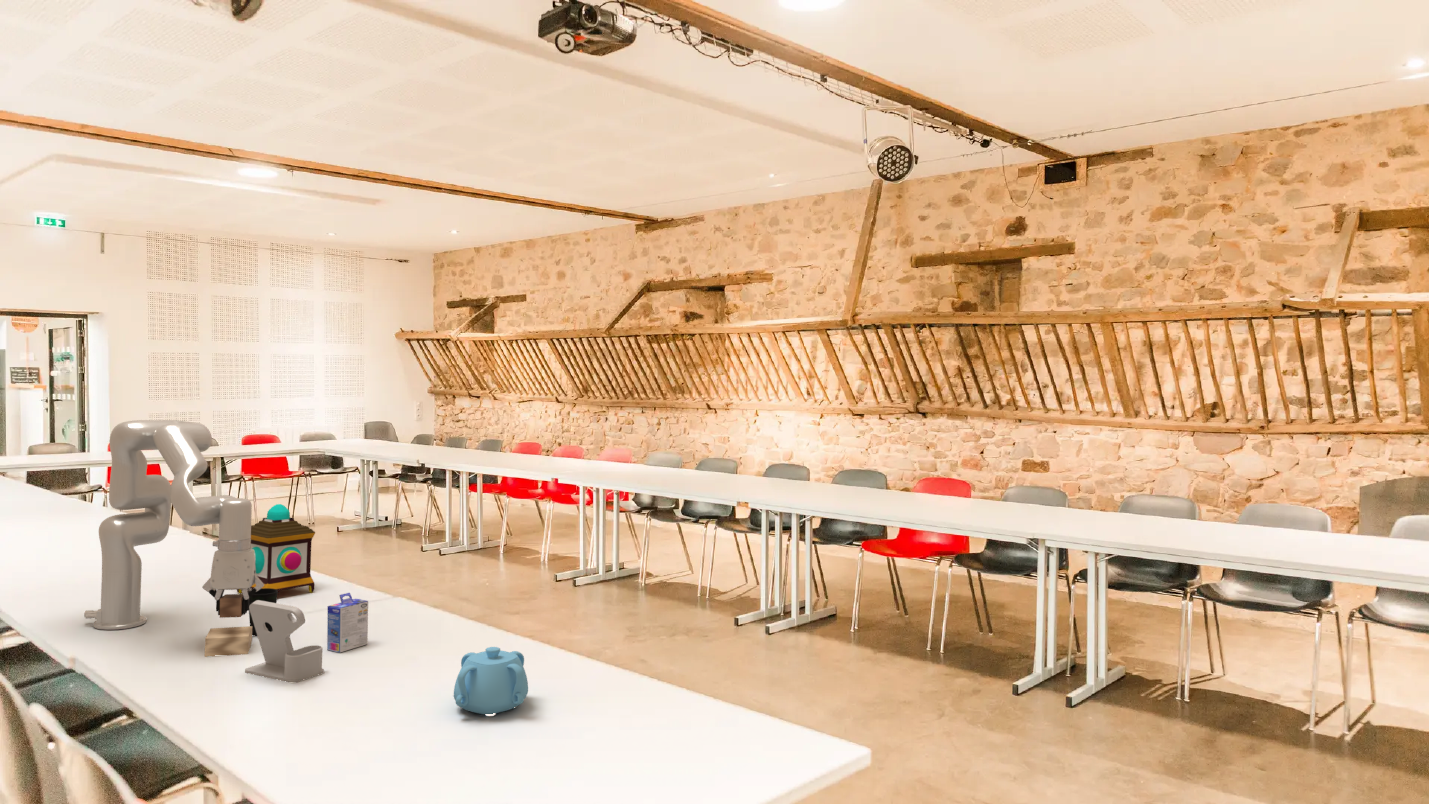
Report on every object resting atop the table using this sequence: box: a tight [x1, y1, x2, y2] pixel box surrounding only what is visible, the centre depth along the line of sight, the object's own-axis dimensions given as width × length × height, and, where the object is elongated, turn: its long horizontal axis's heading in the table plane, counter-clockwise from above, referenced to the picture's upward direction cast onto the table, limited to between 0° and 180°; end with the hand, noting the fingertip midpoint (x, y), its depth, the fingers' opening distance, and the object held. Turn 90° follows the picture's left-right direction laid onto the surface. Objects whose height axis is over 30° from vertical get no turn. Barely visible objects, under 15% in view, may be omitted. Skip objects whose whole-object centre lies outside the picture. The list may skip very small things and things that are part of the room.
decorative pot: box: [453, 646, 529, 715], centre depth 203 cm, size 16×16×14 cm
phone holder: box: [244, 600, 325, 683], centre depth 221 cm, size 17×10×18 cm, turn 68°
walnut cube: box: [218, 593, 244, 619], centre depth 237 cm, size 5×5×5 cm
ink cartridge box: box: [326, 592, 369, 653], centre depth 243 cm, size 10×6×14 cm, turn 155°
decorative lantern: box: [236, 503, 316, 594], centre depth 299 cm, size 20×20×30 cm
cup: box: [248, 588, 279, 637], centre depth 252 cm, size 8×8×12 cm
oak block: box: [204, 625, 253, 658], centre depth 236 cm, size 10×10×5 cm
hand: (232, 613), depth 237 cm, fingers closed on walnut cube, 5 cm apart
